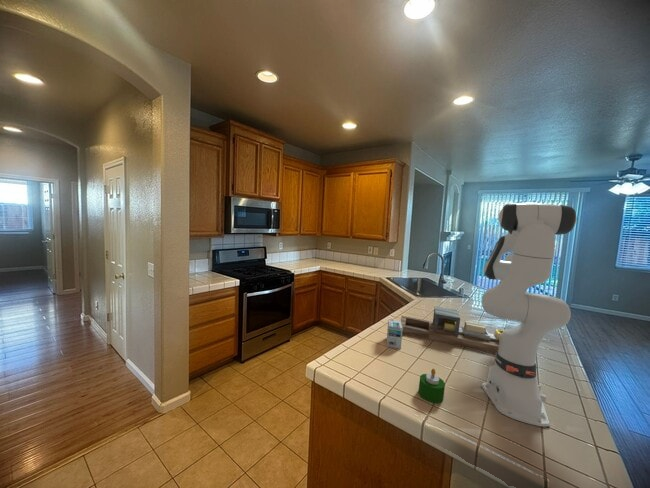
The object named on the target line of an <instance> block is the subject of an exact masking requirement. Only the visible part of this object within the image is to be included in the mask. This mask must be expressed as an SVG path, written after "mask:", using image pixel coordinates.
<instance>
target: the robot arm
mask: <svg viewBox="0 0 650 488" xmlns="http://www.w3.org/2000/svg"><path fill="white" fill-rule="evenodd" d="M576 212H577V211H576V210H575V208H574V207H572V206H570V205H565V204H559V205H558V204H553V203H552V204H550V203H538V202H523V203H522V202H519V203H516V202H513V203H510V202H509V203H507V204H505V205H503V206H502V208H501V210H500V212H499V214H498V223H499V224H500V227H501V228H502V229H503V230H504V231H507V232H508V233H506V234H505V235H502V236H500V237H499V239H498V240H497V242H496V243H495V245H494V247H493V250H492V252H491V253H490V255H489V257H488V259H487V261H486V262H485V264H484V266H483V274H484V276H485V277H486V278H487V279H488V280H495V281H498V280H499V283H498V284H497V285H495V286H493V287H491V288H489V289H487V290H486V291H484V293H483V294H482V296H481V305H482V308H483V310H484V312H485V313H486V314H488V315H490V316H493V317H496V318H499V319H503V320H508V321H514V322H519V323H520V324H518V325H517V326H515V327H512V328H507V329H505V330H504V332H502V333H501V335H500V341H499V348H498V351H497V353H496V354H495V356H494V357H495V360H494V361H495V362H494V363H493V364H492V365H491V366H489V369H488V373H487V378H486V382H482V383H481V388H482V389H483V390H484V392H485V394H486V395H487V397H489V400H490V401H491V402H492V404H493V405H494V407H495V409H497V411H498V412H499V413H500V414H503V415H504V416H506V417H508V418H510V419H513V420H517V421H519V422H522V423H525V424H529V425H532V426H537V427H545V428H546V427H550V421H549V417H548V414H547V410H546V408H545V405H544V403H546V401H547V396H546V395H545V394H542V393H541V391H540V390H542V385H539V381H538V377H537V372H538V371H537V363H536V359H537V354H538V350H539V347H540V345H541V342H542V340H543V339H544V338H545V337H546V336H547V335H548V334H550V333H551V332H553V331H554V330H557V329H559V328H560V329H561V328H563V327H565V326H566V325H567V324H568V323H569V322H570V320H571V317H572V313H571V312H572V311H571V308H570V306H569V304H567V302H566V301H565V300H563V299H561V298H558V297H555V296H551V295H547V294H543V293H535V292H527V290H528V289H530V288H531V287H534V286H537V285H540V284H541V285H542V284H543V283H545V282H547V281H548V280H549V278H550V277H551V273H552V267H553V263H554V262H553V261H554V257H555V255H554V254H555V248H556V237H555V236H556V235H557V236H558V235H566V234H569V233H570V232H572V230H573V229H574V228H575V226H576V223H577V219H578V217H577V213H576ZM510 252H511V253H510ZM508 253H510V254H508ZM505 254H507V255H506V256H505V258H504V260H502V257H503V256H504V255H505Z"/></svg>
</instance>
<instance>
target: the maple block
mask: <svg viewBox="0 0 650 488" xmlns="http://www.w3.org/2000/svg"><path fill="white" fill-rule="evenodd" d="M463 325H464V327H465V329H466V331H470V332H475V333H480V334H485V333H486V330H487V328H486V325H485V324H484V323H479V322H474V321H468V320H464V324H463Z"/></svg>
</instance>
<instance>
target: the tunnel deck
mask: <svg viewBox="0 0 650 488" xmlns="http://www.w3.org/2000/svg"><path fill="white" fill-rule="evenodd" d="M432 317H433V319H432V321H431V320H426V319H422V318H415V317H412V316H407V315H401V316H400V320H401V324H402V327H403V332H402V335H403V334H404V335H408V336H412V337H418V338H422V339H427V340H430V341H436V342H440V343H444V344H445V343H446V344H450V345H454V346H458V347H463V348H467V349H471V350H477V351H482V352H485V353H491V354H495V355H496V353H497V351H498V348H499V341H495V340H490V341H489V340H484V339H479V338H474V337H469V336H464V334H460V333H459V328H462V326H460V324H461V323H460V322H461V316H460V314H459V311H458V310H456V309H452V308H446V307H440V306H434V309H433V316H432ZM444 319H445V320H450V321H456V326H455V332H450V331H445V330H443V326H442V325H443V324H444ZM488 333H490V334H495V332H494V333H493V332H489V331H488Z"/></svg>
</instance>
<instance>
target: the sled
mask: <svg viewBox="0 0 650 488" xmlns="http://www.w3.org/2000/svg"><path fill="white" fill-rule="evenodd" d="M464 325H465V324H463V325H461V327H462V328H459V333H460V334H464V336H469V337H474V338H479V339H484V340H489V341H490V340H495V341H500V335H501V333H502V332H504V331H505V330H504V329H503V330H502V329H497V328H495V329H494V334H490V333H491V332H489V331H488V330H487V329H486V333H485V334H480V333H475V332H470V331H466V329H465V327H464ZM442 326H443V330H445V331H450V332H455V326H456V321H450V320H445V319H444V324H443V325H442ZM488 332H489V333H488Z"/></svg>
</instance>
